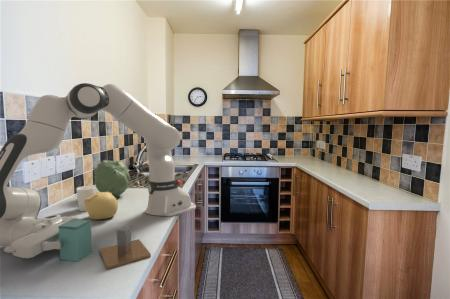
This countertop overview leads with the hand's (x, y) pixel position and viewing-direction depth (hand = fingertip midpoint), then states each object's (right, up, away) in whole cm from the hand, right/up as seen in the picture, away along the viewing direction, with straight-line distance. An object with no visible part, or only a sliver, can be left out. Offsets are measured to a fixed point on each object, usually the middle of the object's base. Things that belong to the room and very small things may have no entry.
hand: (74, 237), depth 75 cm
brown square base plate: (+14, -5, +1) cm, 15 cm away
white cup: (-19, -1, +42) cm, 46 cm away
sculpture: (-7, -2, +32) cm, 33 cm away
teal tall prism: (+1, -5, 0) cm, 5 cm away
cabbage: (-16, +1, +62) cm, 64 cm away
